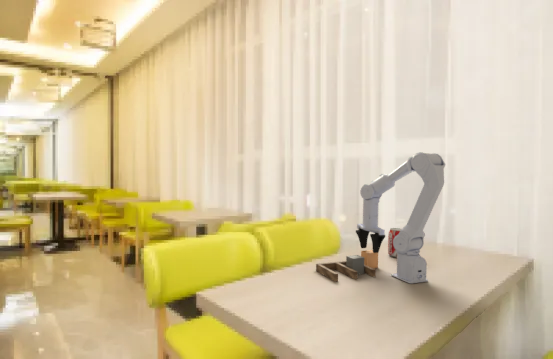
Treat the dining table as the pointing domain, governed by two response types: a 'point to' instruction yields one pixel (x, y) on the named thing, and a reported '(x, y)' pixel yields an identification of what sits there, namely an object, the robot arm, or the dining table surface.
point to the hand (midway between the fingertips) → (369, 250)
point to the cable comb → (341, 270)
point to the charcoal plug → (355, 263)
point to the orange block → (370, 258)
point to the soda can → (391, 236)
